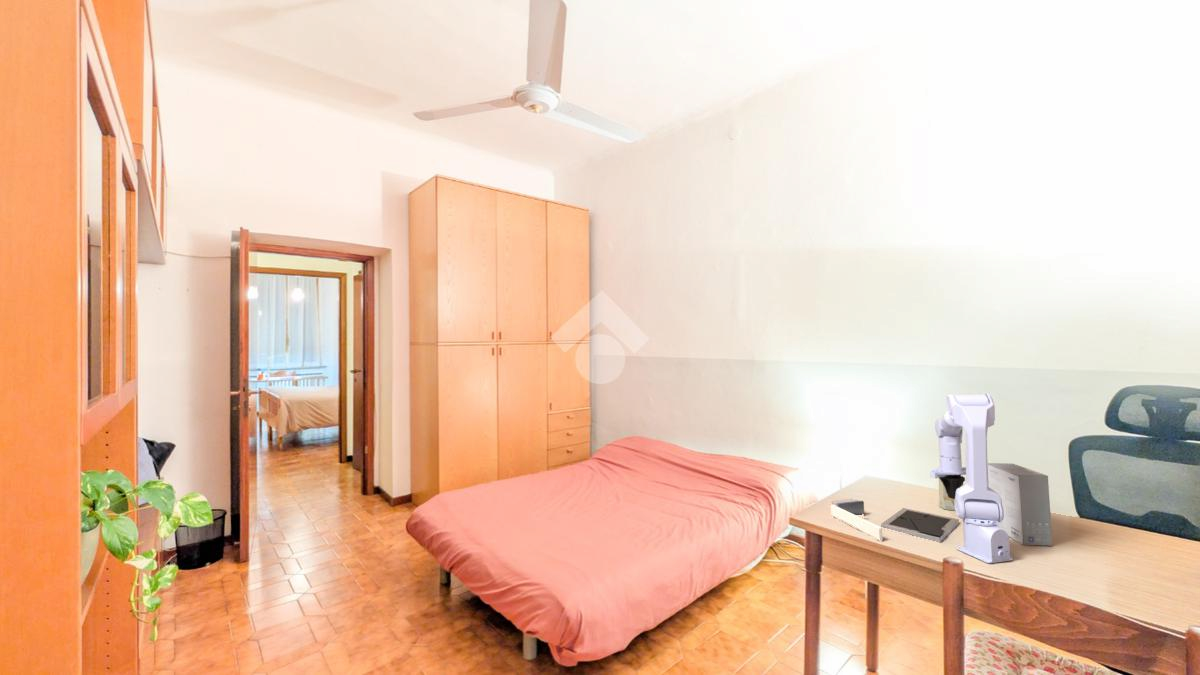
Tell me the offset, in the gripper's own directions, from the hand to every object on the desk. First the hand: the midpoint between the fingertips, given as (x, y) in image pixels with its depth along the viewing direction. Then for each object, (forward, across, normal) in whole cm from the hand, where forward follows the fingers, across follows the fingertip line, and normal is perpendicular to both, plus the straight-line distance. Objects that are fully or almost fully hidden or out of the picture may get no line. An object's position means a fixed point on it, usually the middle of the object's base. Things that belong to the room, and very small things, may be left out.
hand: (952, 498), depth 153 cm
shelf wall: (+8, +33, -4) cm, 34 cm away
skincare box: (+8, -10, -10) cm, 16 cm away
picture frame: (+8, +13, 0) cm, 16 cm away
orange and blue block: (+8, +28, -15) cm, 33 cm away
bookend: (+8, +28, -11) cm, 31 cm away
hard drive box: (+8, -8, +14) cm, 18 cm away
